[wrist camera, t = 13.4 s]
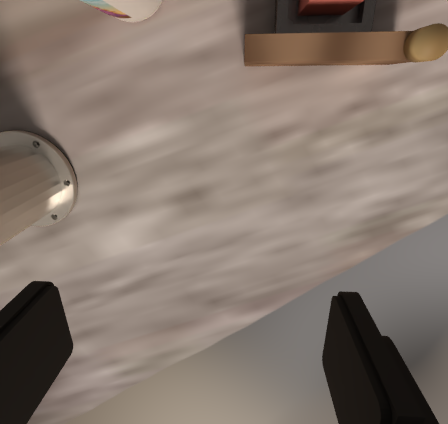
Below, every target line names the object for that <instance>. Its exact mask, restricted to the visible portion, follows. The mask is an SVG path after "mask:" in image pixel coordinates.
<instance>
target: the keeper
mask: <svg viewBox="0 0 448 424" xmlns="http://www.w3.org/2000/svg"><path fill="white" fill-rule="evenodd" d="M298 3H299V0H276V13H275V33H274V34H284V33H339V32H371V30H372V24H373V17H374V11H375V5H376V0H364V1H362V2H361V3H360V4H358V5H357V6H355V7H354V8H352V9H351V10H349V11H348V12H346V13H345V14H344V15H322V16H298Z"/></svg>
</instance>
